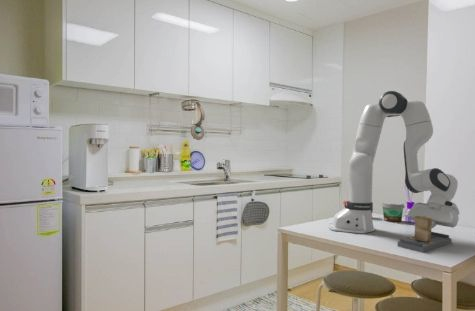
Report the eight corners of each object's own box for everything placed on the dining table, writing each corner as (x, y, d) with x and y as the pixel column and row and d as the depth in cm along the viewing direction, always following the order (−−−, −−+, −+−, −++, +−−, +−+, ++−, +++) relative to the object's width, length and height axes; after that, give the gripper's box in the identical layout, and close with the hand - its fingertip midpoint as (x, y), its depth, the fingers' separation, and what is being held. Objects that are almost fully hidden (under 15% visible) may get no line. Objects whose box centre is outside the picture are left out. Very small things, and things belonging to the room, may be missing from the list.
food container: (384, 222, 205) (385, 204, 204) (381, 220, 211) (381, 202, 210) (407, 223, 204) (408, 205, 204) (403, 220, 210) (403, 203, 210)
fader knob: (419, 237, 165) (419, 214, 164) (431, 240, 161) (431, 216, 160) (414, 239, 162) (415, 215, 162) (426, 241, 158) (427, 218, 158)
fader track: (426, 237, 175) (426, 230, 175) (451, 242, 166) (451, 235, 166) (397, 246, 160) (397, 238, 160) (423, 252, 151) (423, 244, 151)
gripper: (412, 197, 175) (400, 221, 170) (459, 204, 159) (447, 230, 153) (417, 206, 178) (405, 229, 173) (463, 213, 162) (452, 239, 156)
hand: (425, 229), depth 163 cm, fingers closed, pressing on fader knob
